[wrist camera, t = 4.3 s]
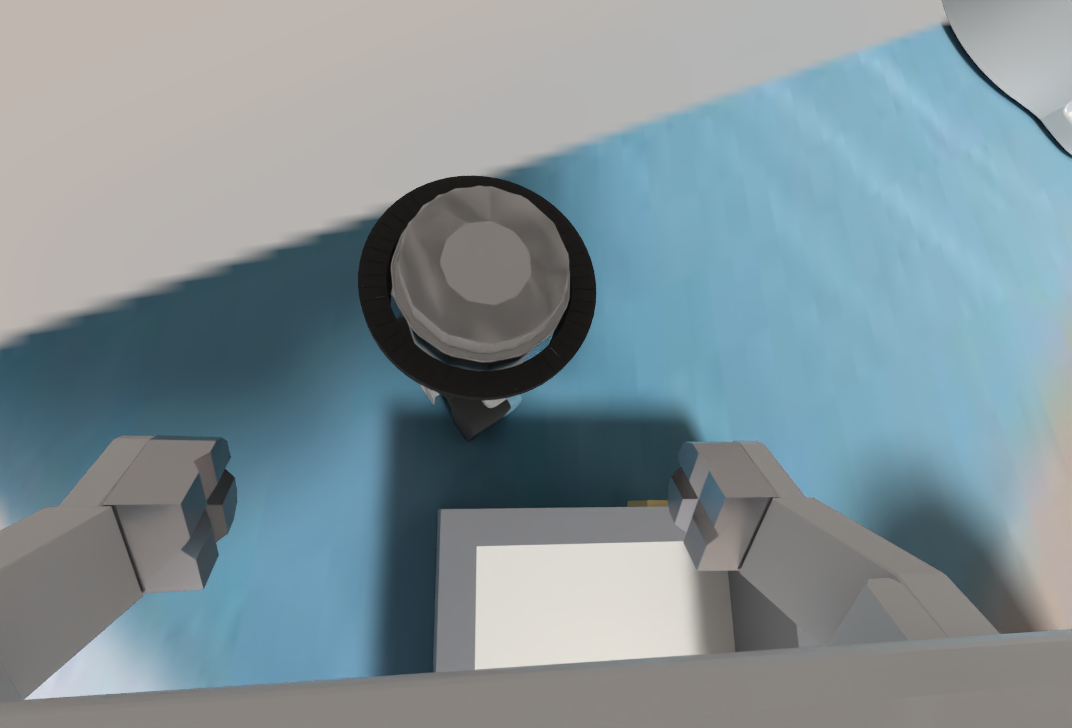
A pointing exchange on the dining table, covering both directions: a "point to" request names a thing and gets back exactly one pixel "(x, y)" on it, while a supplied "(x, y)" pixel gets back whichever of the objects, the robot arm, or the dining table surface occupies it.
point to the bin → (587, 591)
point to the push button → (476, 293)
